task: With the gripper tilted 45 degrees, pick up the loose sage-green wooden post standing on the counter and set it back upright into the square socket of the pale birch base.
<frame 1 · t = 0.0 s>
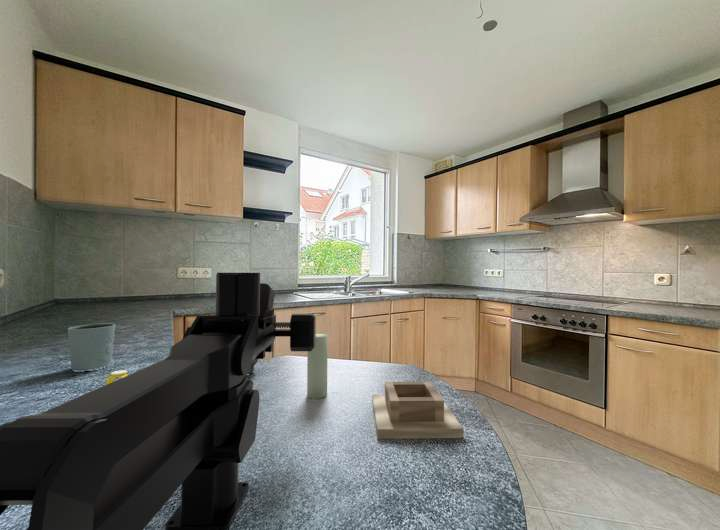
hand: (273, 324, 59), 17 cm above the countertop, tool horizontal, fingers open, 9 cm apart
mortar and pestle: (244, 372, 81), on the countertop
grey plant pot: (90, 368, 84), on the countertop
post: (317, 394, 66), on the countertop
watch: (118, 400, 63), on the countertop
socket base: (412, 417, 55), on the countertop
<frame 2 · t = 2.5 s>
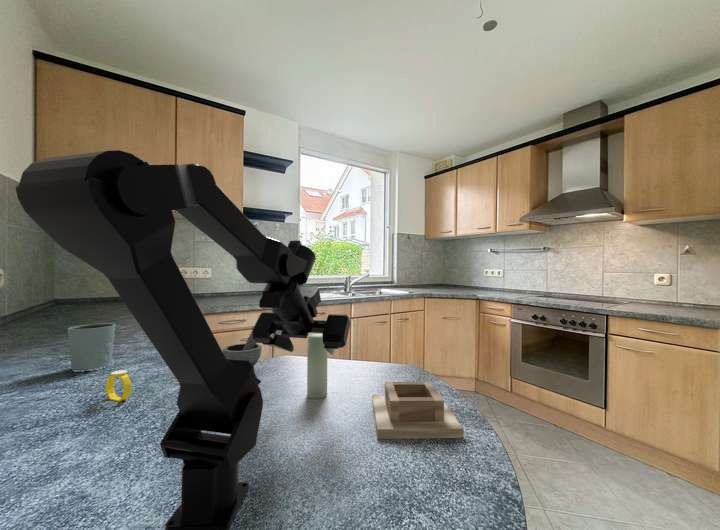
hand: (312, 351, 63), 10 cm above the countertop, tool tilted 45°, fingers open, 9 cm apart
nothing on the countertop moved.
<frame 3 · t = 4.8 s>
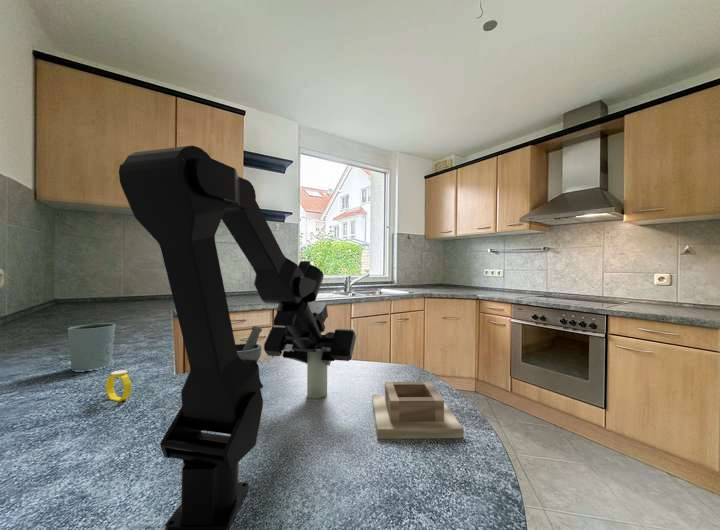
hand: (319, 362, 67), 7 cm above the countertop, tool tilted 45°, fingers closed on post, 4 cm apart
post: (317, 394, 66), on the countertop, touching gripper
everything else where it was.
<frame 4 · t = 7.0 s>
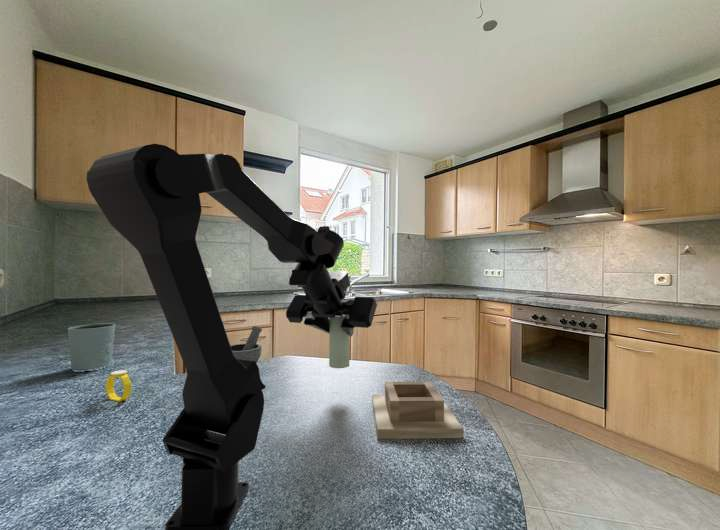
hand: (342, 333, 66), 13 cm above the countertop, tool tilted 45°, fingers closed on post, 4 cm apart
post: (339, 365, 65), point 7 cm above the countertop, touching gripper
everything else where it was.
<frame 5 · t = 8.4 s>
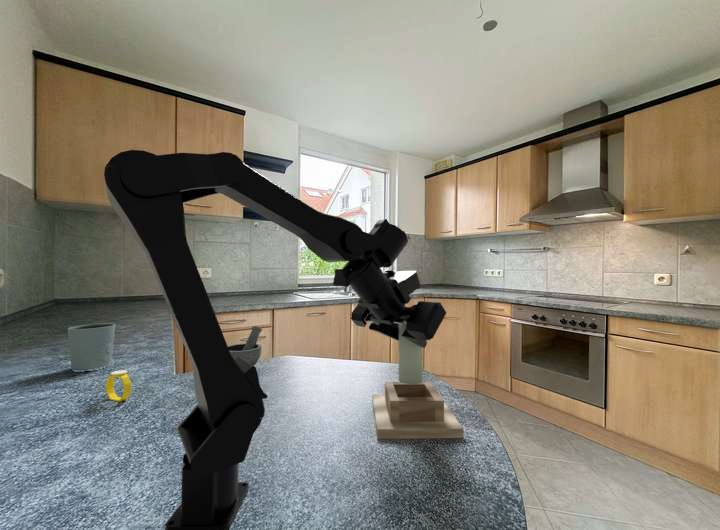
hand: (415, 343, 57), 13 cm above the countertop, tool tilted 45°, fingers closed on post, 4 cm apart
post: (410, 380, 55), point 7 cm above the countertop, touching gripper
everything else where it was.
when the fingers open (10 cm above the countertop, at t = 9.6 s): post drops 2 cm, resting on socket base.
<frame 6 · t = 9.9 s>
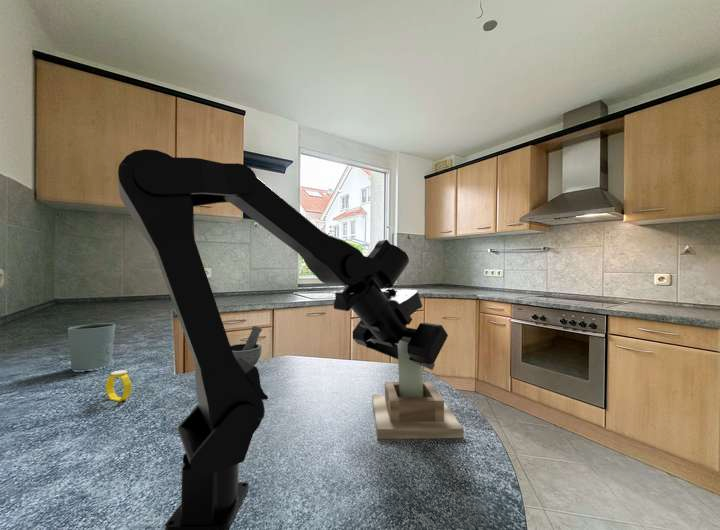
hand: (416, 362, 56), 10 cm above the countertop, tool tilted 45°, fingers open, 7 cm apart
post: (411, 409, 55), point 2 cm above the countertop, touching socket base
everything else where it was.
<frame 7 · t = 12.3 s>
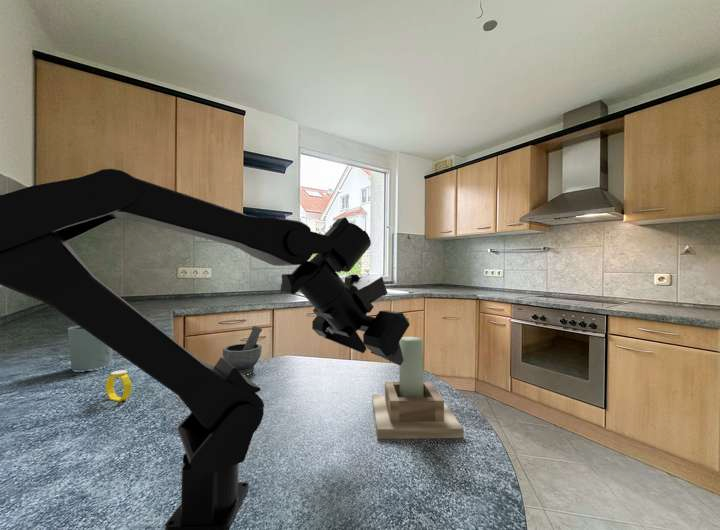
hand: (381, 356, 51), 13 cm above the countertop, tool tilted 45°, fingers open, 9 cm apart
nothing on the countertop moved.
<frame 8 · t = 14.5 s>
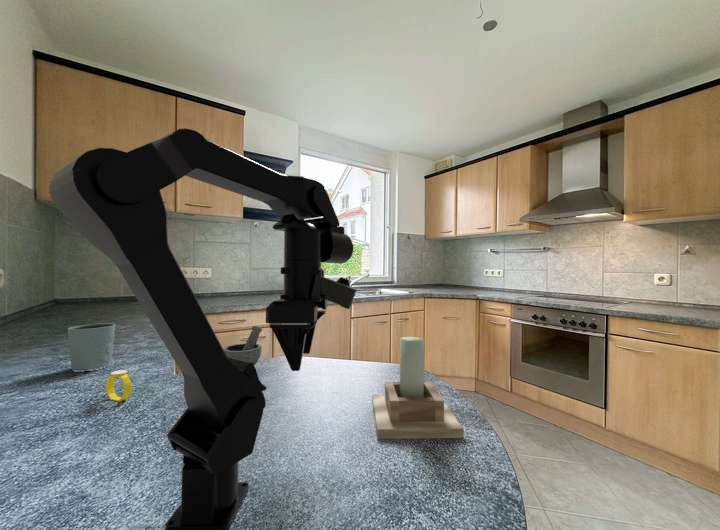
hand: (301, 361, 46), 13 cm above the countertop, tool pointing down, fingers open, 9 cm apart
nothing on the countertop moved.
at the end: post 0.1 cm off-centre on the socket base, point 1.5 cm above the socket base's base; post tilted 0°; the gripper is holding nothing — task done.
